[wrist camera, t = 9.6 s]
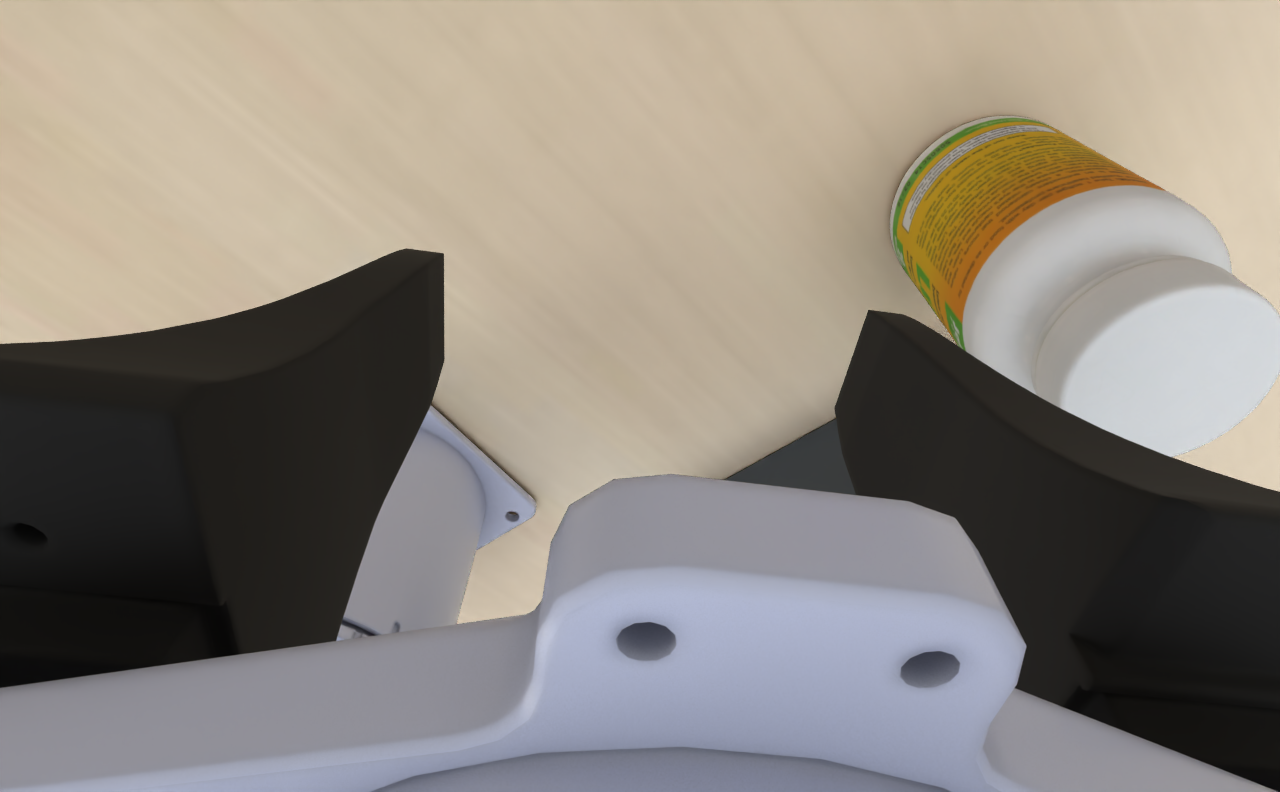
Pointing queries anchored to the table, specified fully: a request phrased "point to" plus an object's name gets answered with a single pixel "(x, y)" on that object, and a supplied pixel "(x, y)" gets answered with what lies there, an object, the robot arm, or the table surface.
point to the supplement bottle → (1084, 283)
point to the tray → (804, 464)
